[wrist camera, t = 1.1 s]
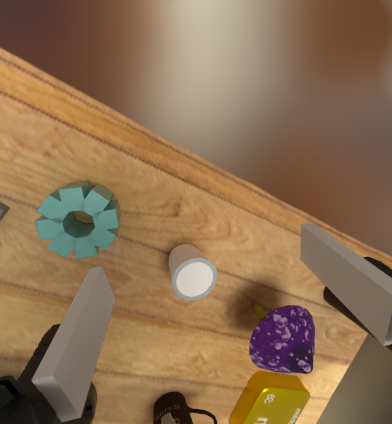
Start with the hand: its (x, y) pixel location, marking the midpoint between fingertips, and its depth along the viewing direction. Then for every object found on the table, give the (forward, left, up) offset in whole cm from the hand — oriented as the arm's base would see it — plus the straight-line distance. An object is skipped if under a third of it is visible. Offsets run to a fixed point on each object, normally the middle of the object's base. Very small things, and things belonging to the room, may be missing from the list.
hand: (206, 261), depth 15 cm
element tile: (-24, -50, -23) cm, 60 cm away
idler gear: (-8, +8, -22) cm, 25 cm away
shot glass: (-6, -9, -22) cm, 25 cm away
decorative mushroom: (-6, -28, -22) cm, 37 cm away
